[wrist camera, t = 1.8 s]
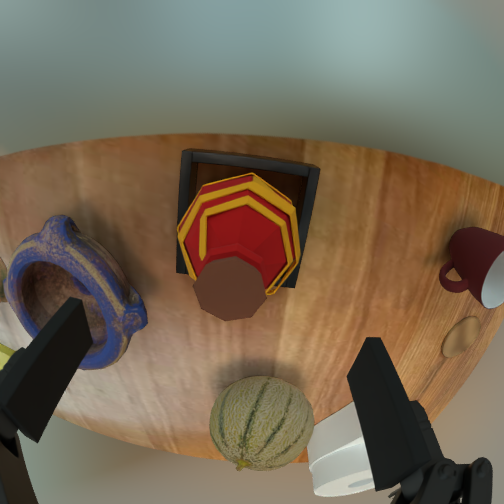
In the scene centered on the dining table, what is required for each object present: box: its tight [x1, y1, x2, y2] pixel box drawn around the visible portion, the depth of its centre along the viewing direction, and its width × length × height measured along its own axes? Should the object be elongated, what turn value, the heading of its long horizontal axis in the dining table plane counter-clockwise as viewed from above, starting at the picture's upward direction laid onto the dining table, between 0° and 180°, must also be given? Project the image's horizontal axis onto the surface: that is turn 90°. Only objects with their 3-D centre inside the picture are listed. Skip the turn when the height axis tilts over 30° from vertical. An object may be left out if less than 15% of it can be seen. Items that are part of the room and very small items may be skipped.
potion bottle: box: [177, 172, 301, 321], centre depth 22 cm, size 10×10×15 cm
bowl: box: [3, 215, 148, 370], centre depth 28 cm, size 18×18×10 cm
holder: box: [176, 149, 320, 288], centre depth 28 cm, size 13×13×3 cm
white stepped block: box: [307, 401, 375, 497], centre depth 40 cm, size 20×25×14 cm
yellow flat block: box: [0, 343, 16, 370], centre depth 44 cm, size 12×2×24 cm
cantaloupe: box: [210, 376, 314, 471], centre depth 34 cm, size 15×15×15 cm
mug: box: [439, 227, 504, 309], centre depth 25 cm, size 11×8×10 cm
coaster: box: [441, 316, 481, 357], centre depth 36 cm, size 9×9×1 cm
